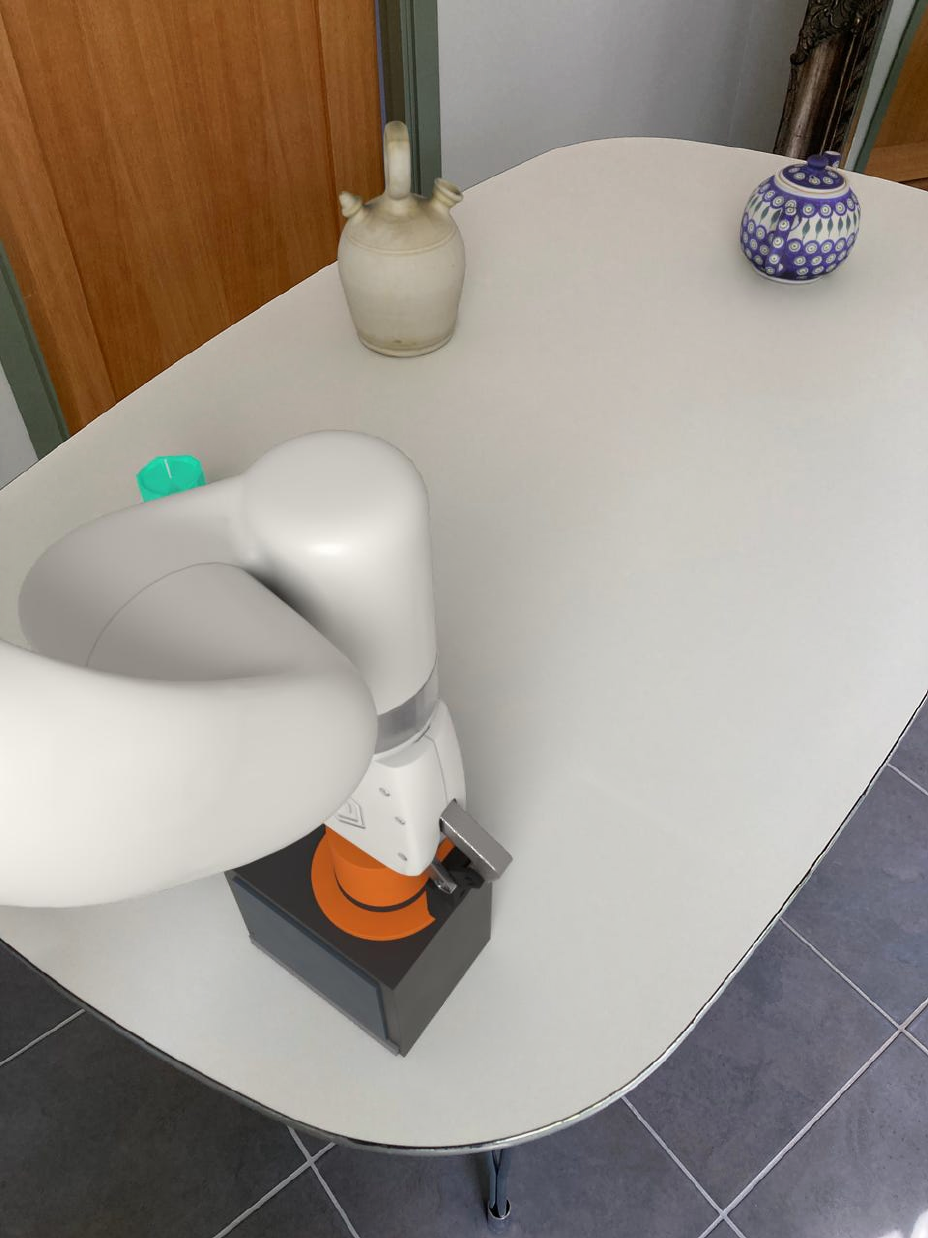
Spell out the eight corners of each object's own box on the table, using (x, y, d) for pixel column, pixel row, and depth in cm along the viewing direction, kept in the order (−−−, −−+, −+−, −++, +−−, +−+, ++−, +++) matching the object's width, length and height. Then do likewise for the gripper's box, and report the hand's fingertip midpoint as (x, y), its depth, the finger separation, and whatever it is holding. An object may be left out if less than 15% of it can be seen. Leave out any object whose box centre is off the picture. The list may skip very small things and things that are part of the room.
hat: (397, 971, 55) (390, 927, 50) (281, 886, 58) (265, 837, 54) (487, 855, 60) (488, 805, 55) (375, 782, 63) (367, 730, 59)
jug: (474, 302, 125) (474, 98, 107) (456, 370, 115) (453, 157, 96) (360, 294, 127) (340, 92, 108) (332, 360, 117) (305, 149, 98)
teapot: (811, 324, 121) (845, 209, 110) (701, 292, 127) (723, 179, 116) (869, 242, 135) (904, 133, 124) (768, 216, 141) (793, 109, 130)
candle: (237, 545, 95) (212, 449, 86) (202, 584, 92) (172, 489, 83) (187, 528, 97) (158, 432, 88) (151, 566, 93) (117, 470, 84)
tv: (401, 1062, 63) (389, 995, 54) (247, 941, 68) (213, 862, 59) (490, 938, 68) (493, 859, 59) (341, 836, 74) (323, 749, 65)
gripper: (169, 646, 46) (236, 824, 59) (460, 834, 39) (464, 989, 52) (277, 556, 50) (317, 741, 63) (558, 712, 43) (539, 884, 56)
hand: (384, 853), depth 57 cm, fingers open, 9 cm apart
